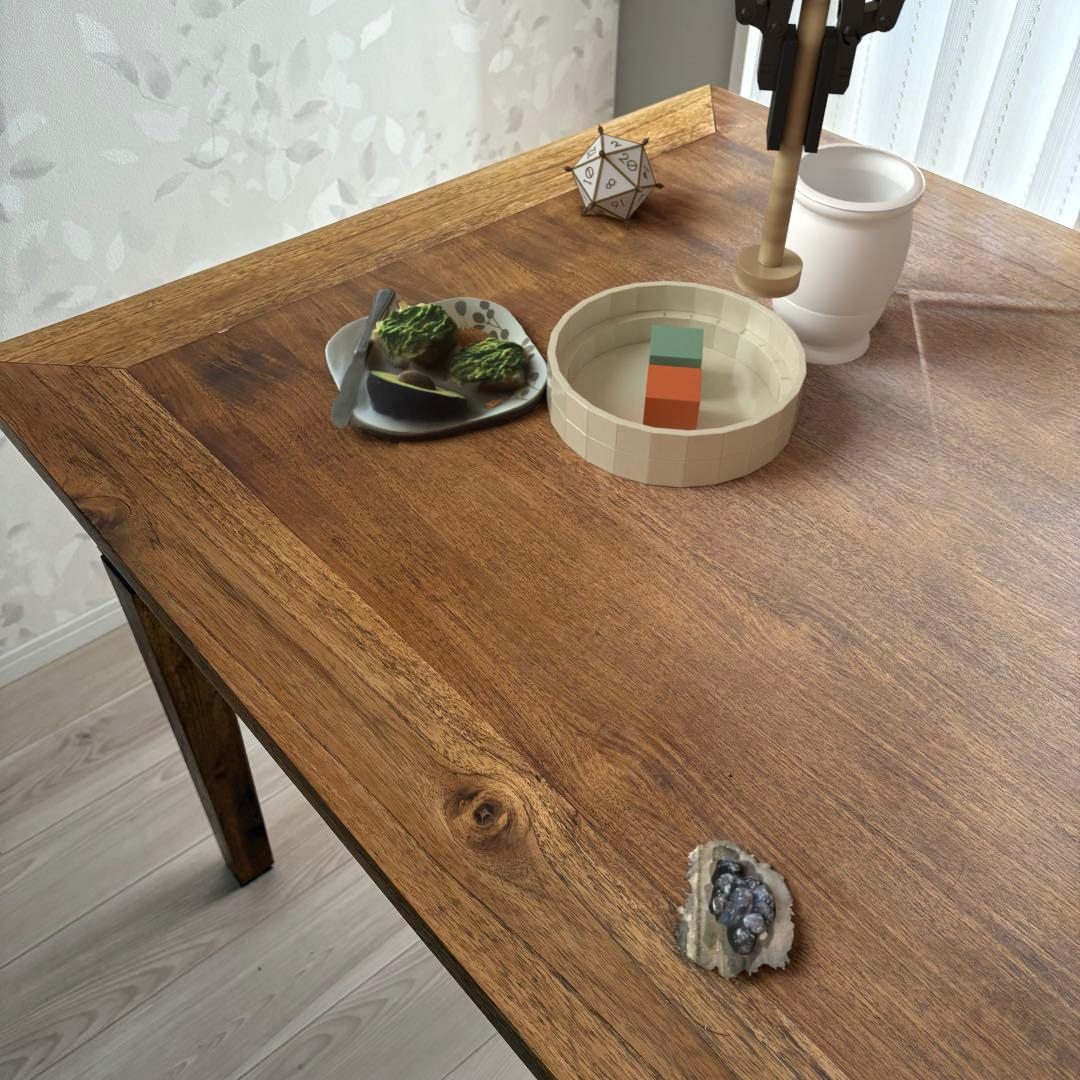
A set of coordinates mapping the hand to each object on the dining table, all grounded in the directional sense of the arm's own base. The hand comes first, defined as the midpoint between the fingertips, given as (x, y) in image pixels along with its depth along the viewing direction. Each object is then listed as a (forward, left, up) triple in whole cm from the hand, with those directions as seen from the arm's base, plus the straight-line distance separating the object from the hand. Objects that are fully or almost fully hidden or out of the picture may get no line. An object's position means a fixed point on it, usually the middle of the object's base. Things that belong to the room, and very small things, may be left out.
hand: (791, 140), depth 69 cm
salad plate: (+24, -3, -24) cm, 34 cm away
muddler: (0, 0, -10) cm, 10 cm away
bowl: (+5, -2, -23) cm, 24 cm away
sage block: (+5, -5, -23) cm, 24 cm away
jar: (-7, -13, -24) cm, 28 cm away
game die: (+12, -31, -24) cm, 41 cm away
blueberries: (0, +39, -24) cm, 46 cm away
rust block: (+5, +1, -23) cm, 23 cm away
